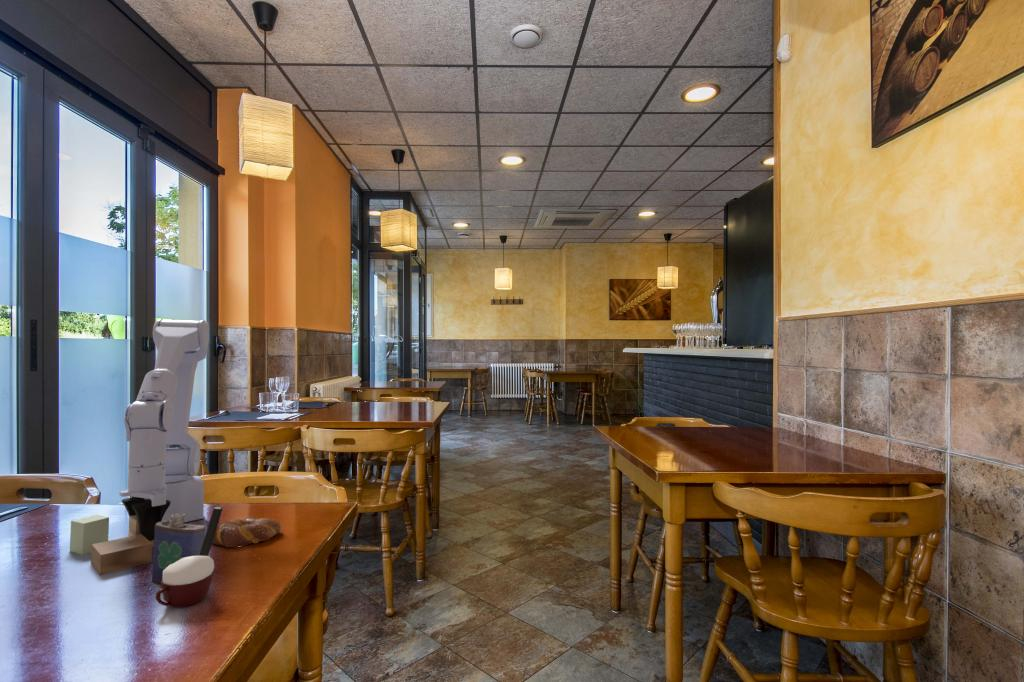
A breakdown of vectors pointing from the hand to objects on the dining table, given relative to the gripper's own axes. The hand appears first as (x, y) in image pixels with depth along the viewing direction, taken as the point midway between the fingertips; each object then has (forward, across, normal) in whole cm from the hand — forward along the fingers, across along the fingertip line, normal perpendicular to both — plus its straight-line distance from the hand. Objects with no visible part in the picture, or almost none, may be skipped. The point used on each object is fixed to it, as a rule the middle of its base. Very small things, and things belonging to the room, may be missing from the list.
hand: (144, 537), depth 95 cm
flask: (+2, +22, -2) cm, 23 cm away
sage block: (+2, -6, -7) cm, 9 cm away
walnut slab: (+2, +7, -5) cm, 9 cm away
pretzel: (+2, +10, +14) cm, 18 cm away
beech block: (+1, 0, 0) cm, 1 cm away
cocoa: (+2, +30, -3) cm, 31 cm away
